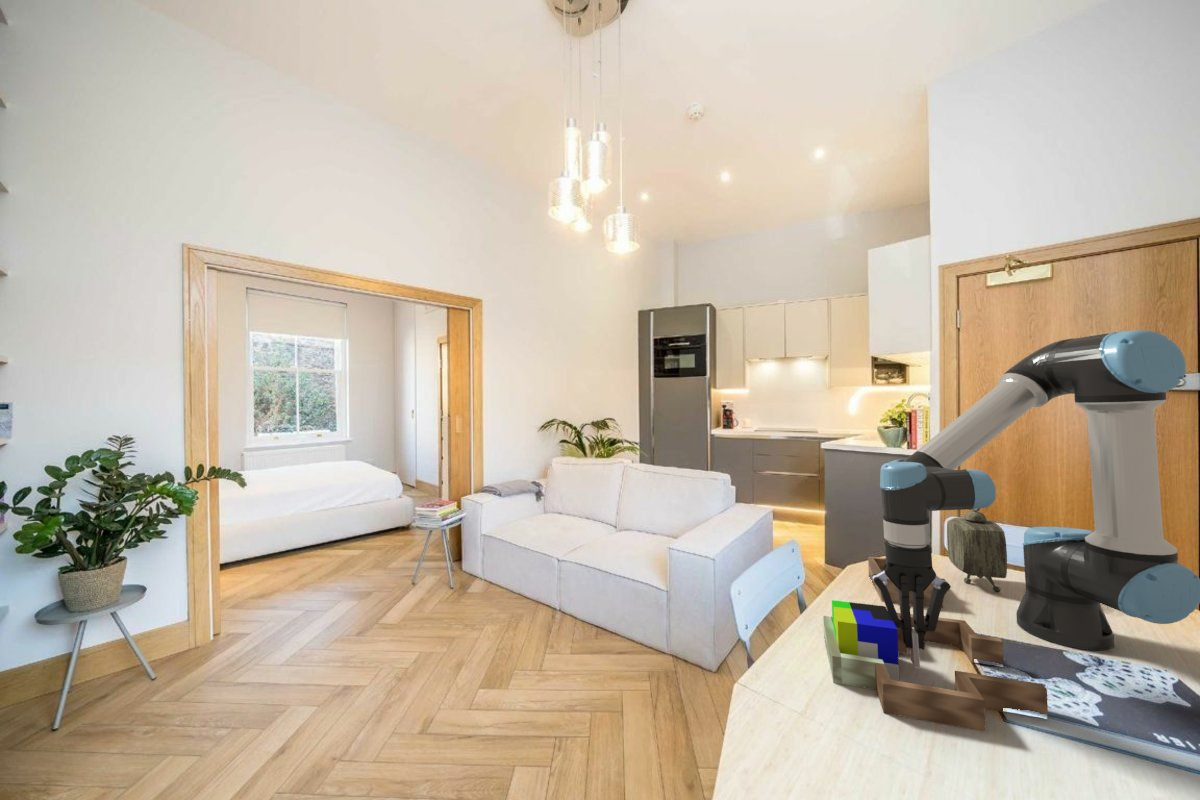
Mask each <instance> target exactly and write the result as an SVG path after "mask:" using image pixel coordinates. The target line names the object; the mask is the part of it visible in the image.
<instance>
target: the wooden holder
mask: <svg viewBox="0 0 1200 800" xmlns="http://www.w3.org/2000/svg"><path fill="white" fill-rule="evenodd" d="M867 559H868V560H867V562H868V563H867V566H868V578H869V577H870V578H869V579H871V580H872V582H871V584H872V583H873V584H874V586H875V588H874V589H875V591H876V593H877V595H878V597H879V599H880V601H881V602H884V600H883V597H882V594H881V591H880V589H879V587H878V586H877V585H876V584H875V582H874V581H873V579H872V575H873V574H879V573H881V572H883V568H884V566H885V563H886V557H881V556H880V557H879V556H878V557H877V556H876V557H875V556H868V557H867ZM871 580H870V581H871ZM887 582H888V584H887V585H885V586H886V588H887V589H888V591H889V594H890V597H891V599H892V602H893V603H897V604H899V593H898V588H897V587H896V586H895V585H894V584H893V583H892V581H891V580H890V579H889V578H888V577H887ZM873 584H872V585H873ZM874 586H873V587H874ZM933 587H934V586H933V582H932V583H931V584H930V585H929V586H928V587H927V589H926V590H925V591H924V599H923V603H924V607H928V605H929V601H930V597H931V593H932V590H933ZM909 604H910V605H913V599H912V591H909ZM942 608H943V609H944V602H943V603H942V607H941V609H942Z"/></svg>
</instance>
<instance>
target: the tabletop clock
mask: <svg viewBox="0 0 1200 800" xmlns="http://www.w3.org/2000/svg"><path fill="white" fill-rule="evenodd" d="M980 510H981V508H979V509H973V510H969V511H967V512H966V513H964V515H963V517H954V518H952V519H950V520H947V522H946V523H947V524H946V536H947V541H946V542H947V553H948V554H947V556H948V559H949V562H951V563H952V565H953V566H954V567H955V568H957V569H958V570H959V571H960V572H962V573H964V574H967V576H966V577H964V578H963V581H964V583H965V584H971V583H972V580H971V576H972V577H973V576H974V577H977V578H979V579H982V578H983V577H984V578H985V579H987V580H988V582H989V583H990V584H991V585H992V591H993V592H994V593H996V594H997V593H1001V588H1000V587H999V586H997V585H996V584H995V582H994V580H993V578H997V579H1006V578H1007V572H1008V550H1007V541H1006V540H1007V539H1006V535H1005V531H1004V529H1003V528H1002V527H1001V526H1000V525H999V524H997V523H996V522H994V521H992V520H990V519H988V518H986V515H985V514H983V513H982V512H980Z"/></svg>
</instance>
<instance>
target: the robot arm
mask: <svg viewBox="0 0 1200 800" xmlns="http://www.w3.org/2000/svg"><path fill="white" fill-rule="evenodd" d="M1186 365H1187V364H1186V359H1185V357H1184V354H1183V352H1182V350H1181V349H1180V347H1179V346H1178V345H1177V344H1176V343H1175V342H1174V341H1173V340H1172V339H1169V338H1168V336H1166V335H1164V334H1163V333H1159V332H1156V331H1153V330H1146V329H1144V330H1143V329H1142V330H1141V329H1138V330H1137V329H1136V330H1126V331H1125V330H1120V331H1114V332H1109V333H1102V334H1095V335H1089V336H1088V335H1087V336H1083V337H1076V338H1067V339H1062V340H1058V341H1055V342H1052V343H1050V344H1047V345H1045V346H1043V347H1040V348H1038V349H1037V350H1035V351H1034V352H1032V353H1031V354H1029V355H1027V356H1026V357H1024V358H1023V359H1021V360H1020V361H1018V362H1017V363H1016V364H1015V365H1013V366H1012V367H1010V368H1009V369H1008V370H1007V371H1005V372H1004V373H1003V374H1002V375H1000V376H999V378H998V380H997V381H998V383H997V385H996V386H995V387H993V388H992V389H991V390H990V391H989V392H988V393H986V394H985V395H984V396H983V397H981V398H980V399H979V400H978V401H977V402H975V403H973V404H972V405H971V406H970V407H969V408H968V409H967V410H965V411H964V412H963V413H961V414H960V415H959V416H958V417H957V418H955V419H954V420H953V421H951V423H949V424H948V425H947V426H945V427H944V428H943V429H941V431H940V432H938V433H937V434H935V435H934V436H933V437H931V439H929V440H928V441H927V442H926V443H924V444H923V445H922V446H921V447H919V449H917V450H916V451H914V452H913V454H911V455H910V456H908V457H907V458H906V459H895V460H891V461H889V462H886V463H883V464H882V465H881V467H880V473H879V477H880V478H879V479H880V480H879V481H880V483H879V487H880V494H881V496H880V497H881V506H882V507H881V509H882V519H883V520H882V521H883V522H882V523H883V537H884V539H885V541H884V555H885V557H884V558H886V563H885V566H884V568H883V572H881V573H879V574H873V575H872V579H873V581H874V582H875V584H876V585H877V586H878V587H879V589H880V591H881V594H882V597H883V600H884V601H883V602H884V604H885V605H884V606H885V607H886V609H887V611H888V613H889V616H890V618H891V619H892V621H893V622H894V624H895V626H896V628H901V629H902V630H903V642H904V644H905V645H906V647H907V649H909V656H910V662H911V663H912V665H913V667H914V668H915V669H921V660H920V650H922V651H923V650H925V647H926V644H925V641H924V635H925V634H926V633H925V632H927V631H932V632H933V631H935V629H936V626H937V622H938V618H940V614H941V609H942V608H941V607H942V603H943V604H944V599H945V595H946V594H947V593H948V592H949V590H950V589H951V588H952V587H951V584H950V583H949V582H948V581H947V580H946V579H945V578H942V577H940V576H938V575H937V573H936V571H935V570H934V568H933V556H932V547H931V546H930V545H929V544H930V543H931V542H932V541H931V531H930V528H931V527H930V512H937V511H957V510H958V511H960V510H961V511H962V510H964V511H965V510H966V511H967V510H969V511H972V510H973V509H979V508H980V509H985V508H988V507H990V506H992V505H993V503H995V501H996V498H997V492H996V491H997V490H996V485H995V482H994V481H993V478H992V477H991V476H990V475H989V474H988V473H986V472H984V471H983V470H981V469H968V468H963V469H958V468H959V467H960V466H961V465H962V464H964V463H965V462H966V461H967V460H969V459H970V458H971V457H972V456H974V455H975V454H976V453H977V452H978V451H980V450H981V449H983V447H985V446H986V445H987V444H989V443H990V442H991V441H992V440H993V439H994V438H996V437H997V436H998V435H1000V434H1001V433H1002V432H1003V431H1005V430H1006V429H1007V428H1008V427H1009V426H1011V425H1013V423H1015V422H1016V421H1017V420H1018V419H1020V418H1021V417H1022V416H1024V415H1025V414H1026V413H1027V412H1029V410H1031V409H1032V408H1040V407H1043V406H1045V405H1046V404H1047V403H1048V402H1050V401H1051V400H1053V399H1055V398H1057V397H1060V396H1064V395H1071V394H1072V395H1073V394H1074V395H1073V396H1074V403H1075V405H1076V406H1078V407H1080V408H1081V409H1083V410H1084V411H1085V412H1086V418H1087V419H1086V420H1087V421H1086V422H1087V434H1088V435H1087V437H1088V447H1089V449H1088V451H1089V463H1090V475H1091V478H1090V479H1091V491H1092V492H1091V493H1092V505H1093V506H1092V507H1093V518H1094V520H1093V521H1094V531H1093V530H1089V529H1082V528H1076V527H1075V528H1074V527H1064V526H1063V527H1062V526H1033V527H1030V528H1027V529H1026V530H1025V531H1024V533H1023V543H1022V546H1023V547H1022V548H1023V566H1024V579H1025V591H1024V594H1023V596H1022V599H1021V601H1020V603H1019V606H1018V608H1017V610H1016V615H1015V616H1016V624H1017V626H1019V627H1020V628H1021V629H1022V630H1024V632H1027V633H1029V634H1031V635H1033V636H1036V637H1037V638H1039V639H1042V640H1046V641H1049V642H1052V643H1055V644H1057V645H1058V644H1059V645H1062V646H1065V647H1071V648H1076V649H1081V650H1091V651H1092V650H1093V651H1104V650H1111V649H1113V647H1115V635H1114V631H1113V629H1112V627H1111V625H1110V622H1109V621H1108V619H1107V617H1106V615H1105V613H1104V610H1103V607H1102V606H1101V604H1102V605H1104V606H1107V607H1110V608H1112V609H1114V610H1117V611H1119V612H1121V613H1123V614H1125V615H1127V616H1128V617H1133V618H1137V619H1141V620H1143V621H1145V622H1149V623H1152V624H1158V625H1167V624H1168V625H1169V624H1174V623H1178V622H1180V621H1183V620H1184V619H1186V618H1187V617H1188V616H1190V614H1192V613H1194V612H1195V610H1197V608H1198V607H1199V605H1200V577H1199V575H1196V574H1195V572H1194V571H1193V570H1192V569H1190V568H1188V567H1186V566H1185V565H1184V564H1180V563H1179V557H1178V549H1177V547H1175V546H1174V544H1171V543H1170V542H1168V540H1166V539H1165V538H1164V530H1163V529H1164V528H1163V516H1162V514H1163V513H1162V500H1161V489H1160V488H1161V486H1160V475H1159V473H1160V472H1159V462H1158V461H1159V460H1158V459H1159V458H1158V447H1157V433H1156V432H1157V431H1156V420H1155V419H1156V418H1155V410H1157V409H1158V407H1160V406H1162V405H1163V404H1165V403H1166V402H1167V392H1168V391H1171V390H1173V389H1174V388H1177V387H1178V386H1179V384H1180V383H1181V380H1182V379H1184V377H1185V375H1186V371H1187V366H1186ZM887 577H888V578H889V579H890V580H891V581H892V583H893V584H894V585H895V586H896V587H897V588H898V593H899V603H898V604H899V611H900V612H899V613H900V614H901V620H900V619H899V618H898V615H897V613H898V612H897V611H896V607H895V604H894V602H892V599H891V597H890V594H889V591H888V589H887V588H886V586H885V585H887V584H888V582H887ZM932 582H933V586H934V587H933V590H932V593H931V597H930V601H929V605H928V606H927V609H926V612H925V609H924V608H925V606H924V603H923V599H924V591H925V590H926V589H927V587H928V586H929V585H930V584H931V583H932ZM909 591H912V599H913V604H912V613H911V604H909ZM896 612H897V613H896ZM925 613H926V614H925ZM911 614H913V625H914V628H913V627H912V625H911ZM924 616H925V620H924Z"/></svg>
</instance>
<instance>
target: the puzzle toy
mask: <svg viewBox="0 0 1200 800" xmlns="http://www.w3.org/2000/svg"><path fill="white" fill-rule="evenodd" d="M831 617H832V622H833V627H834V631H835V635H836V639H837V643H838V647H839V651H840V653H843V654H849V655H856V656H863V657H869V658H876V659H882V660H883V662H884V664H885V667H886V669H887V672H888V674H889V677H890V679H891V680H895V681H900V670H899V669H900V666H899V665H900V664H899V663H900V662H899V652H898V634H897V628H896V626H895V624H894V622H893V621H892V619H891V618H890V616H889V613H888V610H887V608H886V605H878V604H870V603H869V604H868V603H867V604H866V603H860V602H859V603H858V602H851V601H843V600H833V599H831Z"/></svg>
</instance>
